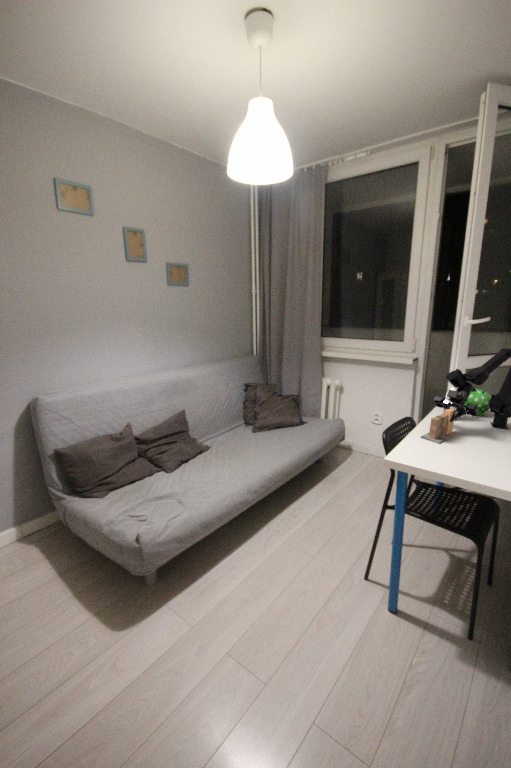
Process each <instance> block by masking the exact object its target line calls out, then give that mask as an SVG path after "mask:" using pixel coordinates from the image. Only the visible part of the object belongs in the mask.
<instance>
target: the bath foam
mask: <svg viewBox="0 0 511 768" xmlns="http://www.w3.org/2000/svg"><path fill="white" fill-rule="evenodd" d="M457 388H458V387H454V386H453V385H452V384H451V387H450V388H449V390H454V391H456V390H457ZM447 394H448V391H447V392H446V393H445V397H444V399H445V400H447V401H449V402H450V400H449V399H448V398H449V397H447ZM450 409H454V410H456V408H455V407H450ZM442 414H444V410H443V411H442ZM458 419H459V418H457V419H455V420H454V421H457V420H458Z"/></svg>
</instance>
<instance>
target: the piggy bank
mask: <svg viewBox="0 0 511 768" xmlns="http://www.w3.org/2000/svg"><path fill="white" fill-rule="evenodd" d="M471 385H472V386H473V384H472V383H471ZM475 389H476V392H471V393H470V395H469V397H468V398H467V399H468V401H467V402H465V404H464V405H465V406H466V405H467V404H468V403H469V404H474V405H477V406H478V409H479V414H478V416H477V417H483V415H484V414H485V413H486V412H488V411H489V410H490V407H489V400H490V399H491V396H492V395H491V394H489V392H487V391H485V390H483V389H479V388H476V387H475ZM467 414H469V411H467V412H466V415H467Z"/></svg>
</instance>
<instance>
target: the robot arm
mask: <svg viewBox="0 0 511 768" xmlns="http://www.w3.org/2000/svg"><path fill="white" fill-rule="evenodd" d="M509 359H511V347H502V348H501V349H500V351H498V352H497V353H495V355H493V356H492V357H491V358H490V359H488V360H487V361H486V362H484V363H483V364H482V365H480V366H478V367H475V368H472V369H471V370H469V371H468V372H467V373H463V372H462V371H461V369H458V368H455V370H451V371H450V372H448V373H446V376H445V379H446V380H447V382H449V383H450V385H451V386H452V385H453V386H454V387H458V388H457V390H456V391H454V390H450V389H448V391H447V392H448V394H447V393H446V394H447V397H449V398H448V399H449V400H450V402H449V401H447V400H445V397H443V396H439V395H436V396H434V397H433V398H432V401H433V403H434V405H435V407H437V408H441V409H443V411H444V412H445V410H447V409H450V407H455V408H456V411H455V413H454V414H453V416H452V417H451V419H450V422H452V421H454V422H455V421H456V420H455V419H457V418H458V419H459V418H461V417H463V416H467V414H466V412H467V411H469V412H468V414H469V415H470V416H472V417H479V416H478V414H479V409H478V406H477V405H474V404H469V403H468V404H467V405H466V406H465V405H464V404H465V402H467V401H468V399H467V398H468V397H469V395H470V393H471V392H476V389H477V388H476V387H475V385H476V386H482V385H483V384H484V383H486V381H487V380H488V379H489V377H490V375H491V373H493V372H494V371H495V370H497V368H499V367H500V366H501V365H503V364H504V363H505V362H506V361H508V360H509ZM471 384H472V385H471ZM475 388H476V389H475ZM490 396H491V399H490V400H489V407H490V409H489V410H490V412H491V413H494V414H493V418H492V419H493V420H492V421H490V422H489V423H490V426H492V428H495V429H496V428H497V429H503V428H505V429H506V430H510V428H509V427H508V421H509V418H511V366H510V367H509V369H508V371H507V374H506V376H505V379H504V381H503V382H502V385H501V387H500V389H499V391H498V392H497V393H496V394H495V393H494V394H491V395H490ZM458 419H457V420H458Z"/></svg>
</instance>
